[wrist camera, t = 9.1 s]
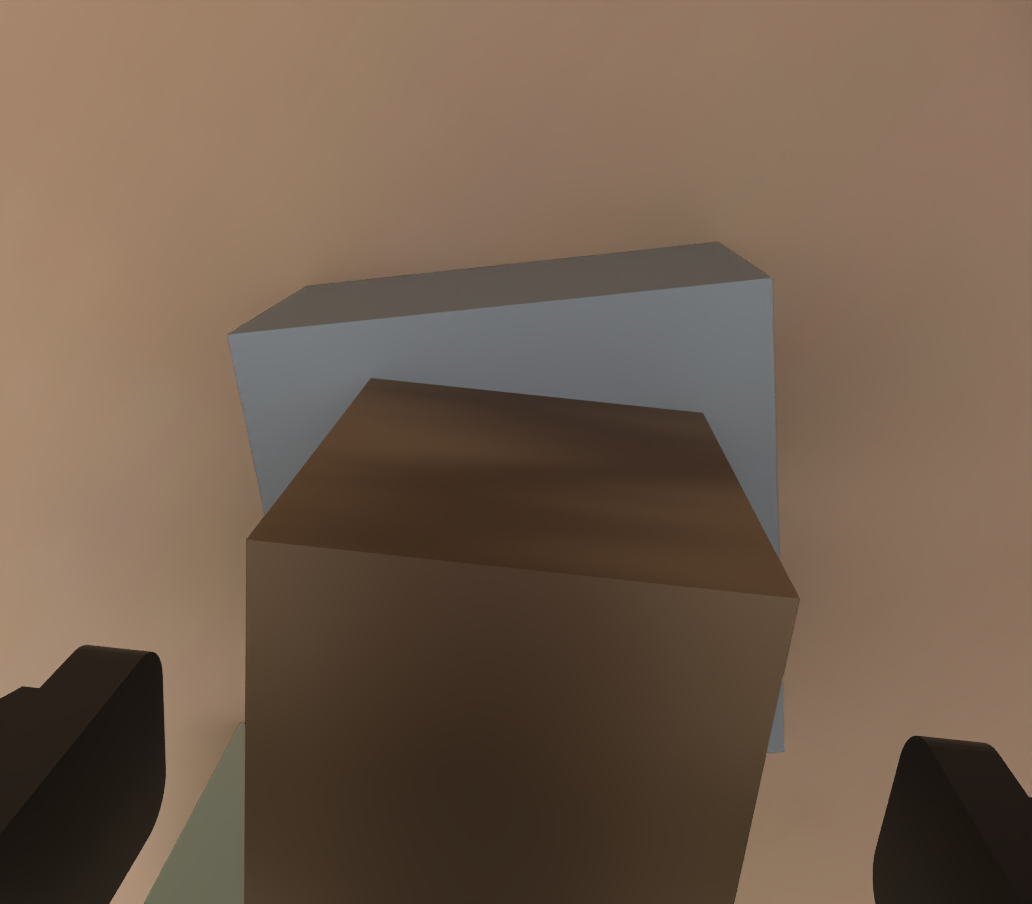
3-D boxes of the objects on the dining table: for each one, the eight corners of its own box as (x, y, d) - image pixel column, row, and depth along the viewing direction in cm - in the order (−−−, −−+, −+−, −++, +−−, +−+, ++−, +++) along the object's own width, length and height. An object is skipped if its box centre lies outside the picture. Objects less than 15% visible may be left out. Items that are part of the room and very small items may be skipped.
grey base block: (716, 240, 18) (772, 278, 14) (732, 610, 21) (784, 752, 16) (309, 283, 19) (227, 334, 14) (373, 639, 21) (321, 783, 17)
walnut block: (702, 413, 14) (799, 599, 8) (654, 700, 16) (709, 1018, 10) (370, 378, 14) (246, 539, 9) (356, 667, 16) (244, 965, 10)
